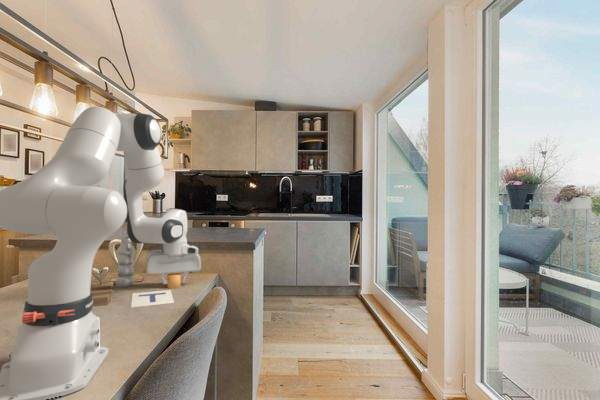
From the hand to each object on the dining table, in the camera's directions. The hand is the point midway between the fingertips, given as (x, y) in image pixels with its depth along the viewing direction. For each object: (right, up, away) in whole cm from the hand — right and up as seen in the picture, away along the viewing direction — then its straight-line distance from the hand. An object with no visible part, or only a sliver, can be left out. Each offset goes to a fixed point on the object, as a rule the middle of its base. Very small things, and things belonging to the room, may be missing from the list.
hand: (174, 283), depth 125 cm
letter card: (-2, -2, -14) cm, 15 cm away
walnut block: (-18, -2, -20) cm, 27 cm away
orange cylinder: (0, -2, 0) cm, 2 cm away
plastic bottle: (-20, -2, 0) cm, 20 cm away
